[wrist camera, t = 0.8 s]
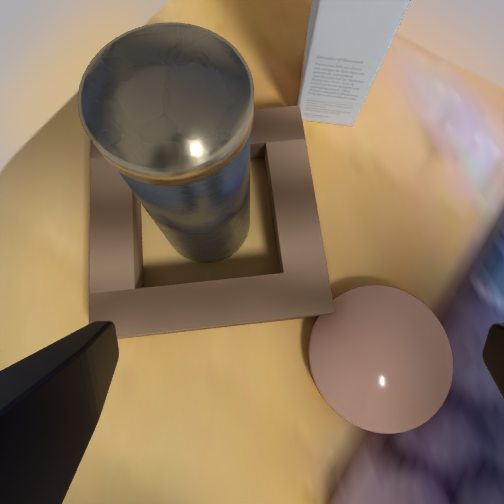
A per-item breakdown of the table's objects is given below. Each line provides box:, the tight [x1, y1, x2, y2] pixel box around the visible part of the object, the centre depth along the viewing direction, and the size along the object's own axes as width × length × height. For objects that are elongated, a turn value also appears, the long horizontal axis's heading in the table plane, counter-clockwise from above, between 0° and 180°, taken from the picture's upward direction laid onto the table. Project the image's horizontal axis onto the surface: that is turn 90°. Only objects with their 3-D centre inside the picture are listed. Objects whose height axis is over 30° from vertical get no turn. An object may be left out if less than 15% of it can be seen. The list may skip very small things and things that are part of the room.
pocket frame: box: [89, 105, 335, 339], centre depth 22 cm, size 13×13×2 cm
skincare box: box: [297, 0, 411, 126], centre depth 20 cm, size 6×4×12 cm
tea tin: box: [78, 23, 254, 263], centre depth 17 cm, size 6×6×12 cm
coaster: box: [308, 285, 453, 434], centre depth 21 cm, size 8×8×1 cm
